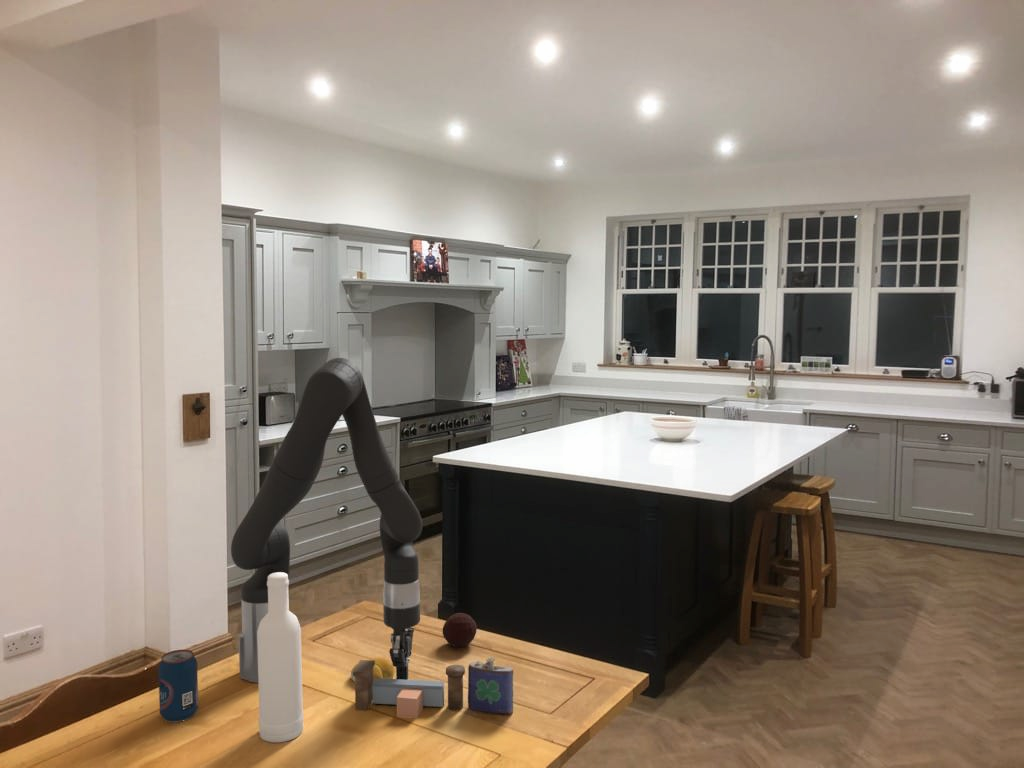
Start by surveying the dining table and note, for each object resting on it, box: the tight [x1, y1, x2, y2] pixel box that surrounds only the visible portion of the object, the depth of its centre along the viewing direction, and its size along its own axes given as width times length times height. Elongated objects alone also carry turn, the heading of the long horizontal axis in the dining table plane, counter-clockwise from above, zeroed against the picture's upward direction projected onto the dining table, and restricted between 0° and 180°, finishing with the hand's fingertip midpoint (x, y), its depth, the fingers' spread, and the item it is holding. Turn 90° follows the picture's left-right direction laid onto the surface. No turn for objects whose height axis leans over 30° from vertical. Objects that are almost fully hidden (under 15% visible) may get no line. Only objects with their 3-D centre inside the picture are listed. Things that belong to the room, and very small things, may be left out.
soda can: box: [158, 649, 199, 723], centre depth 156 cm, size 7×7×12 cm
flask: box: [467, 656, 514, 716], centre depth 158 cm, size 9×3×11 cm, turn 74°
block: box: [396, 688, 424, 719], centre depth 158 cm, size 4×4×4 cm
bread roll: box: [350, 657, 395, 683], centre depth 174 cm, size 8×9×4 cm
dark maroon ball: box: [442, 612, 478, 648], centre depth 190 cm, size 8×9×8 cm
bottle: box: [257, 572, 304, 743], centre depth 149 cm, size 8×8×30 cm
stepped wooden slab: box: [353, 659, 375, 711], centre depth 161 cm, size 3×6×8 cm, turn 176°
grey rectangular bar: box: [372, 678, 445, 708], centre depth 161 cm, size 14×2×4 cm, turn 84°
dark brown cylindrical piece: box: [445, 664, 466, 712], centre depth 160 cm, size 4×4×8 cm
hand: (402, 681), depth 168 cm, fingers closed
